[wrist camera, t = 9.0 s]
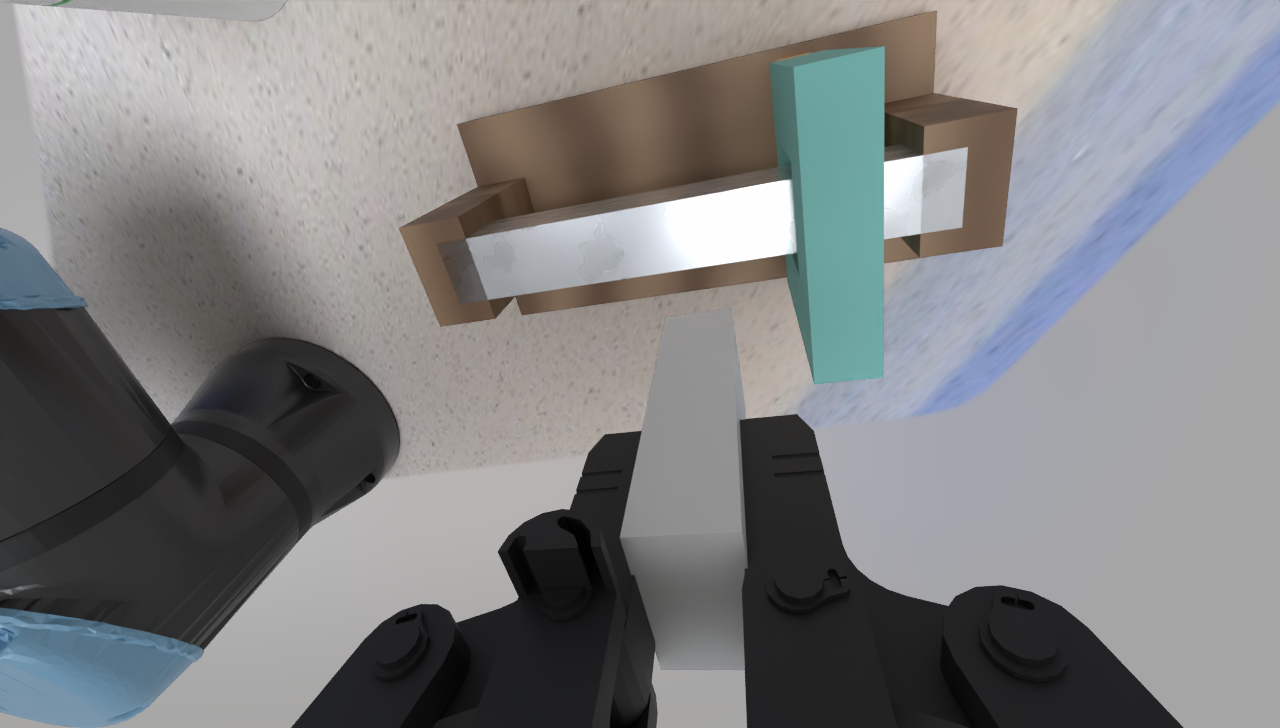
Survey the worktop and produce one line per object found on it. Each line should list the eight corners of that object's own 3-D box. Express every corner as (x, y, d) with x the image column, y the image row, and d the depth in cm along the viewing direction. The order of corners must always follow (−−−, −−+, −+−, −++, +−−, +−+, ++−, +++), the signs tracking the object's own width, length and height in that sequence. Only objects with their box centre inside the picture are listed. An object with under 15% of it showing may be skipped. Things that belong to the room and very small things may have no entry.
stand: (528, 306, 37) (465, 385, 28) (467, 121, 32) (364, 147, 23) (918, 249, 32) (993, 325, 23) (926, 12, 26) (1030, -10, 17)
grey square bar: (484, 281, 28) (460, 304, 26) (464, 226, 27) (436, 244, 25) (936, 208, 24) (962, 227, 21) (940, 136, 22) (967, 147, 20)
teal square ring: (787, 281, 30) (814, 384, 21) (769, 62, 25) (793, 66, 16) (834, 275, 30) (883, 377, 20) (824, 50, 25) (884, 46, 15)
